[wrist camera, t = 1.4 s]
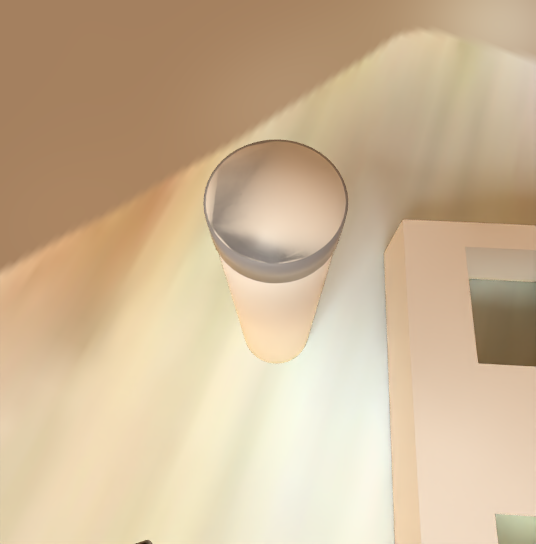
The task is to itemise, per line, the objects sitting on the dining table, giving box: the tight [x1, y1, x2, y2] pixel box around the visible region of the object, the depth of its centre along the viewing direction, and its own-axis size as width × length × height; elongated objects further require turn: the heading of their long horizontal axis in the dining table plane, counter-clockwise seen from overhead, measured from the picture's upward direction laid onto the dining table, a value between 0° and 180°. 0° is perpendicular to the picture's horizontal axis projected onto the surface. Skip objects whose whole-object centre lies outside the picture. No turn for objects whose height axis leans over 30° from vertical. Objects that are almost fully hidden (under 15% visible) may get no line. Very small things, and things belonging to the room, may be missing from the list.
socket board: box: [384, 219, 536, 544], centre depth 19 cm, size 19×11×5 cm, turn 177°
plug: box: [204, 140, 348, 364], centre depth 17 cm, size 4×4×14 cm
